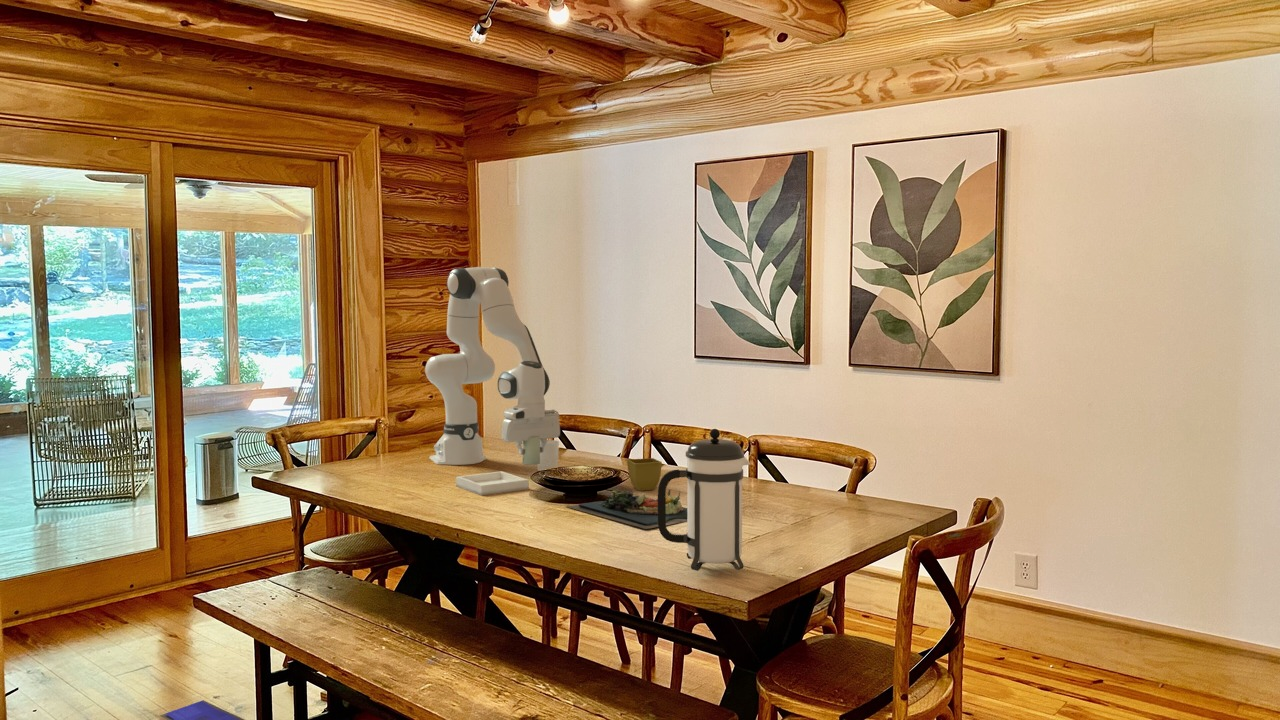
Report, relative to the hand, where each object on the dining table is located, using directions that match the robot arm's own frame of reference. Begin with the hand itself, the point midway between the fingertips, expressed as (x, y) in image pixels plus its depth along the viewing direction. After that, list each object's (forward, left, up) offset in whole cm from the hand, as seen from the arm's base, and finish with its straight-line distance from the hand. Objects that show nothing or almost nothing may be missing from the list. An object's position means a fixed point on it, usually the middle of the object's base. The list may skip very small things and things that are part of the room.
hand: (531, 453), depth 307 cm
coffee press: (+112, -17, -9) cm, 113 cm away
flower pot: (+36, +20, -9) cm, 42 cm away
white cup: (-10, +12, -9) cm, 18 cm away
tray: (+6, -17, -9) cm, 20 cm away
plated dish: (+58, +3, -10) cm, 59 cm away
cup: (0, 0, -3) cm, 3 cm away
